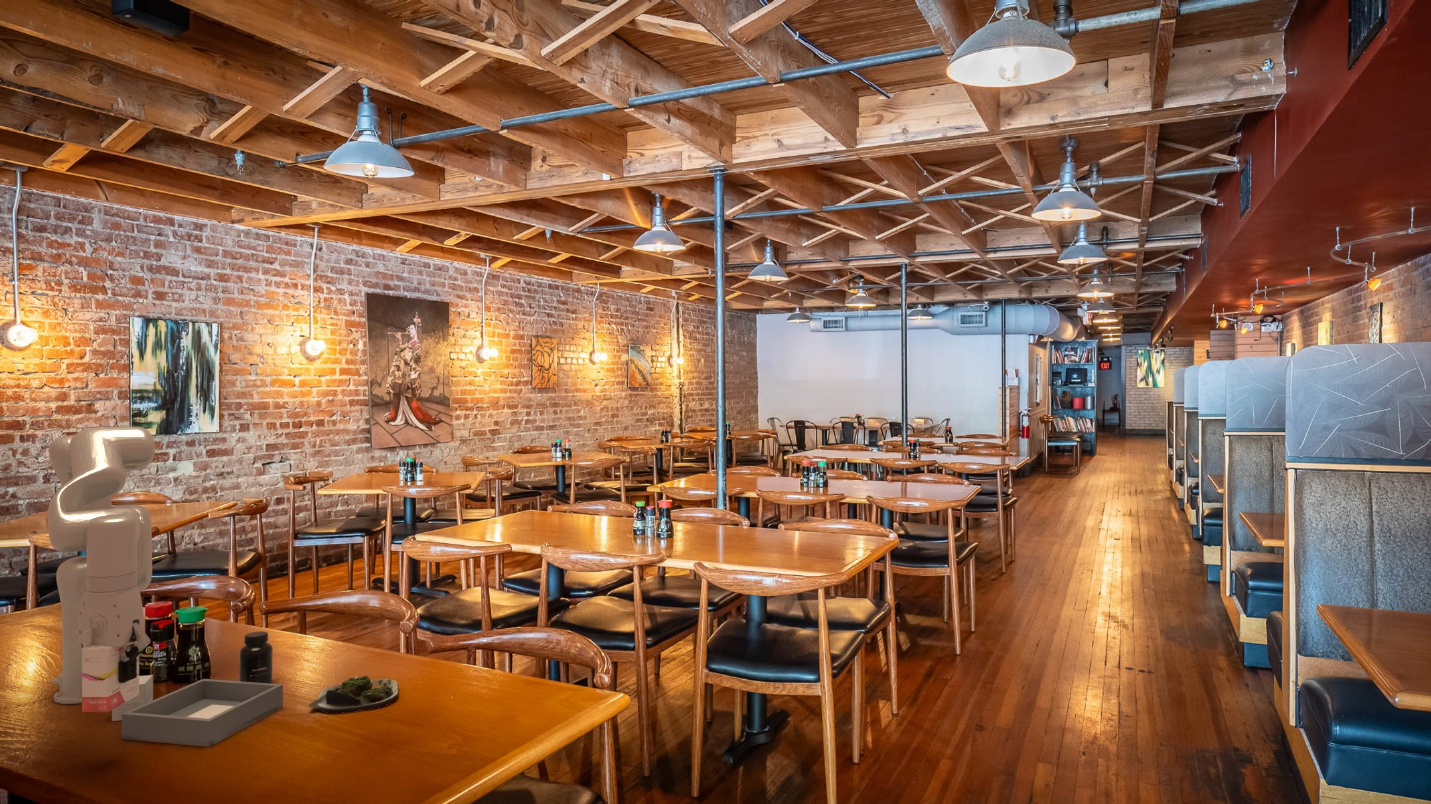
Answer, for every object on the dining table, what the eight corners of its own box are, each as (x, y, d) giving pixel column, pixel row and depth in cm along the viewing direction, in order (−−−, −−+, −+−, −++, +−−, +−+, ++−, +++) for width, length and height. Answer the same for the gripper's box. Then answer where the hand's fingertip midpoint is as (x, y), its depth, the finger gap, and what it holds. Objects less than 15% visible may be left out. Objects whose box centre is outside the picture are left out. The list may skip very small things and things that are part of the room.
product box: (111, 722, 168) (110, 687, 168) (120, 711, 174) (119, 677, 174) (146, 717, 170) (145, 683, 170) (153, 707, 176) (153, 674, 176)
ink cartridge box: (109, 713, 145) (109, 632, 145) (81, 713, 145) (80, 632, 145) (141, 694, 154) (140, 617, 153) (114, 694, 154) (113, 617, 153)
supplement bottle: (257, 691, 185) (257, 639, 185) (232, 689, 187) (231, 637, 187) (279, 680, 192) (279, 630, 192) (254, 679, 193) (254, 629, 193)
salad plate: (317, 688, 188) (317, 669, 188) (399, 679, 194) (399, 660, 194) (306, 720, 170) (306, 698, 170) (397, 708, 176) (397, 687, 176)
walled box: (121, 739, 160) (121, 714, 160) (203, 701, 179) (203, 678, 179) (209, 747, 156) (209, 721, 156) (283, 707, 176) (282, 684, 176)
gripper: (53, 584, 147) (54, 682, 148) (133, 590, 144) (134, 691, 144) (92, 574, 154) (93, 668, 155) (169, 580, 151) (169, 675, 152)
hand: (113, 678), depth 150 cm, fingers closed on ink cartridge box, 5 cm apart
